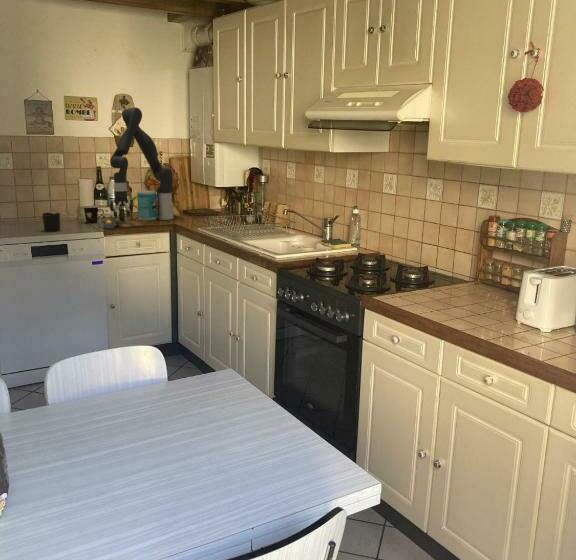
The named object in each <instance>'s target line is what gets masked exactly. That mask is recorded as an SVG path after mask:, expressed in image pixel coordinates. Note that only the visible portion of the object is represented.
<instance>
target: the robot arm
mask: <svg viewBox="0 0 576 560" xmlns="http://www.w3.org/2000/svg"><path fill="white" fill-rule="evenodd" d="M121 118H122V120H123V122H124V123H125V125H126V129H125V130H124V132H123V133H122V134H121V136H120V138H119V139H118V143H117V146H116V149H115V151H114V152H113V154H112V155H111V157H110V160H109V165H110V166H111V168H113V169H119V171H117V172H115V173H114V174H113V192H114V193H113V194H114V195H113V196H114V199H113V200H109V202H108V203H109V210H110V211H112V212H113V217H115V218H116V219H118V212H117V211H118V210H119V209H120V208H122V207H124V209H125V210H126V217H127V218H129V217H130V216H131V212H130V211H132V210H133V209H134V207H133V205H134V203H133V202H134V201H133V199H128V186H127V172H128V167H129V161H128V159H127V157H126V156H127V155H128V154H129V153H130V148H131V144H132V142H133V139H135V141H136V143H137V145H138V147H139V149H140V151H141V153H142V154H143V155H144V158H145V160H146V162H147V164H148V165H149V167H150V170H151V172H152V175H153V177H154V178H155V180H156V181H157V182H159V186H158V187H157V188H156V204H157V220H160V221H161V220H163V221H167V220H168V221H169V220H173V219H174V204H173V203H172V202H173V201H172V189H173V181H174V180H173V179H174V178H173V172H172V170H171V169H170V168H168V167H163V166H162V165H163V164H161V162H160V159H159V157H158V149H157V147H156V144H155V142H154V141H153V138H151V136H150V135H148V134H147V133H146V131H144V130H143V129H142V128H141V127H140V126H139V125H140V123H141V122H142V119H143V112H142V110H141V109H140V108H139V107H137V106H135V107H130V108H129V107H127V108H124V109H123V110H122V112H121ZM114 204H115V206H114Z"/></svg>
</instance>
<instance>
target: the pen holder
mask: <svg viewBox="0 0 576 560" xmlns="http://www.w3.org/2000/svg"><path fill="white" fill-rule="evenodd" d="M42 223H43V228H44V229H43V230H44V231H45V232H47V233H48V232H49V233H51V232H60V230H61V213H60V212H56V213H52V212H44V213H43V212H42Z"/></svg>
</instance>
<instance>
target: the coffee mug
mask: <svg viewBox="0 0 576 560" xmlns="http://www.w3.org/2000/svg"><path fill="white" fill-rule="evenodd" d="M83 210H84V216H85V217H84V218H85V222H86V224H89V223H92V224H98V219H99V218H100V217H103V215H104V214H105V210H104V209H102V208H99V206H97V205H85V206H83ZM99 211H102V214H100V215H99V216H98V214H99Z"/></svg>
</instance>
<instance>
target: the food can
mask: <svg viewBox="0 0 576 560" xmlns="http://www.w3.org/2000/svg"><path fill="white" fill-rule="evenodd" d="M136 194H137V195H136V196H137V218H138V221H156V220H158V206H157V190H138V191H137V193H136Z"/></svg>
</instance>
